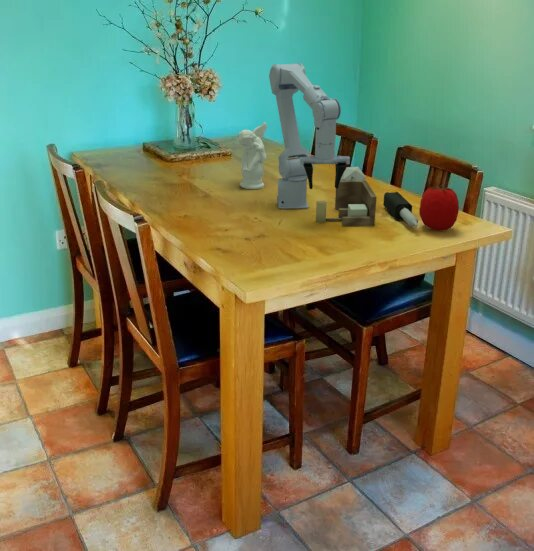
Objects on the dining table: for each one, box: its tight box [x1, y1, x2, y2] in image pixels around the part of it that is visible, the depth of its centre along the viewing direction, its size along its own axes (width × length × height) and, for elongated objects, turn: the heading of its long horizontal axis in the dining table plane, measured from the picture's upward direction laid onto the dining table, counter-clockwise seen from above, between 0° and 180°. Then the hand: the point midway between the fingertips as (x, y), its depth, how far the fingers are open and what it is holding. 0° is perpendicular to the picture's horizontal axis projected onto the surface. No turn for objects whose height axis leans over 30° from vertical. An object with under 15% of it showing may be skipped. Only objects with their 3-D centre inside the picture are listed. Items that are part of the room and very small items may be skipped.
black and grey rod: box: [382, 191, 419, 228], centre depth 210 cm, size 5×5×25 cm
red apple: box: [418, 183, 460, 232], centre depth 201 cm, size 12×12×13 cm
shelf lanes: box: [334, 180, 377, 227], centre depth 211 cm, size 10×17×9 cm, turn 2°
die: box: [340, 166, 367, 181], centre depth 238 cm, size 8×9×10 cm
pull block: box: [315, 200, 367, 224], centre depth 208 cm, size 15×5×6 cm, turn 92°
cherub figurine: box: [238, 121, 268, 190], centre depth 241 cm, size 12×12×22 cm
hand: (323, 187), depth 205 cm, fingers open, 7 cm apart
